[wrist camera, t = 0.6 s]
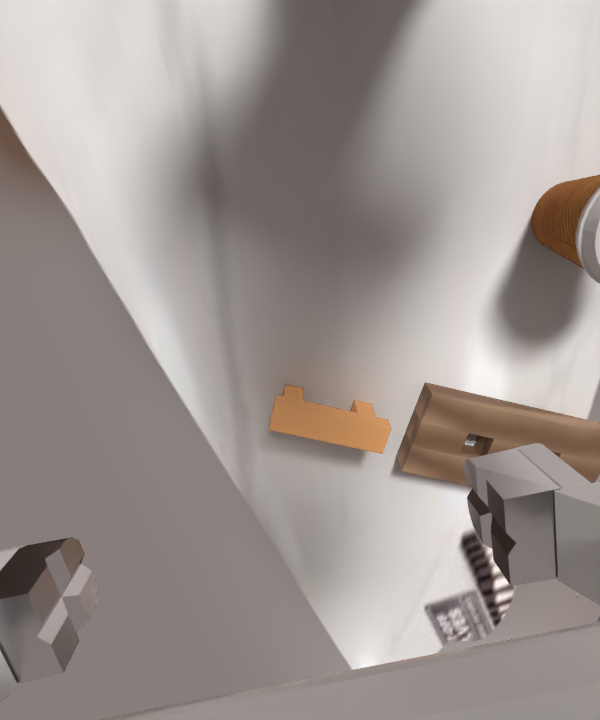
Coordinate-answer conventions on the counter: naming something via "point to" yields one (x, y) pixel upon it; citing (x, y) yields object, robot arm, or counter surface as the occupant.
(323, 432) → the orange piece
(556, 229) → the disposable coffee cup
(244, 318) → the counter surface
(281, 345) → the counter surface
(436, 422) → the rail
